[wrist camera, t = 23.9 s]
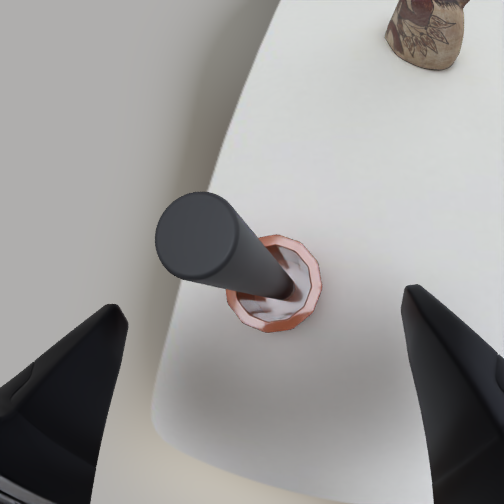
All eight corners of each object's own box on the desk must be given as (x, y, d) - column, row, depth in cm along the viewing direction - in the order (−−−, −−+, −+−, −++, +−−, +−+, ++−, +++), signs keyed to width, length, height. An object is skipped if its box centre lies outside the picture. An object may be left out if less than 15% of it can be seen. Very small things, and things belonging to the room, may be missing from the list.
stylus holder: (324, 318, 18) (328, 323, 13) (253, 329, 18) (231, 337, 14) (312, 248, 19) (311, 227, 14) (243, 260, 19) (219, 244, 14)
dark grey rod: (296, 298, 18) (244, 272, 5) (271, 302, 18) (156, 286, 5) (292, 273, 18) (232, 180, 5) (268, 277, 18) (151, 201, 5)
